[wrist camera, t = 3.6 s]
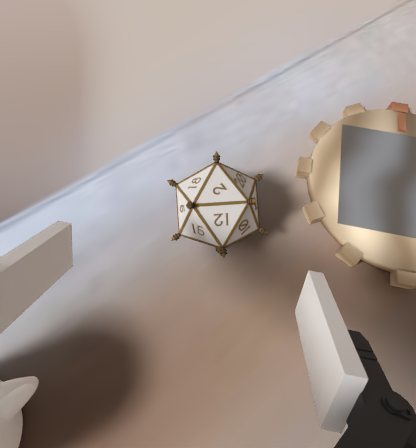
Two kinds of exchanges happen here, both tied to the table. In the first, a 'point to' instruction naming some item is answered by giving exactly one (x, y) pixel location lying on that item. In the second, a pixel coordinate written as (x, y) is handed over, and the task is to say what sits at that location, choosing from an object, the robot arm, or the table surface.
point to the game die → (217, 206)
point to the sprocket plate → (367, 188)
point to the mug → (14, 408)
